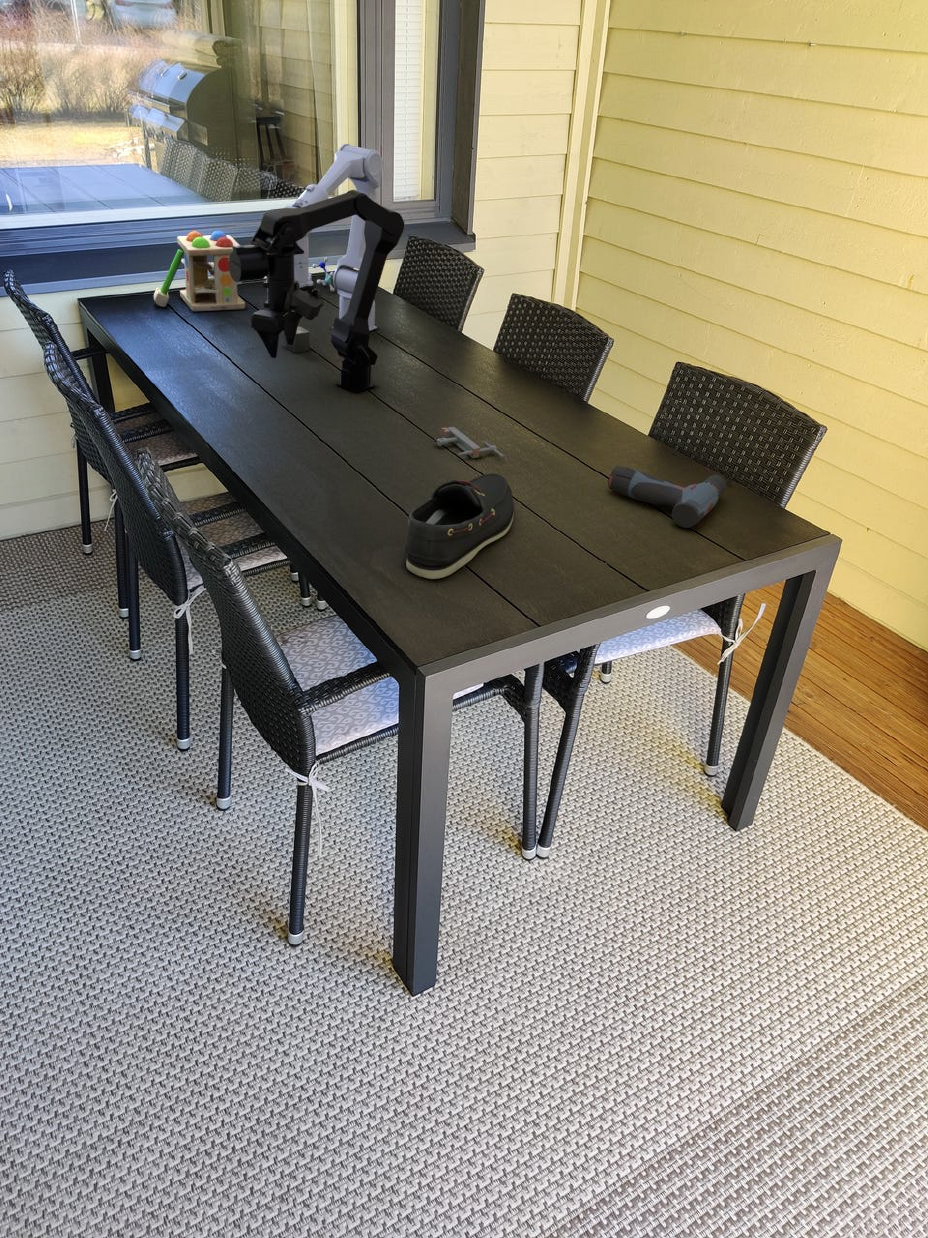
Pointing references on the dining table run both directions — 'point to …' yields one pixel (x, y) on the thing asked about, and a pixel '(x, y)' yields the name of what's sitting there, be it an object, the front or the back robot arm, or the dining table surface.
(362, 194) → the front robot arm
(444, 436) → the clamp
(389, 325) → the dining table surface
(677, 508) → the power drill
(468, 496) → the boat shoe
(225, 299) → the pounding bench toy
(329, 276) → the molecular model
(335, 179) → the back robot arm
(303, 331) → the metal block
